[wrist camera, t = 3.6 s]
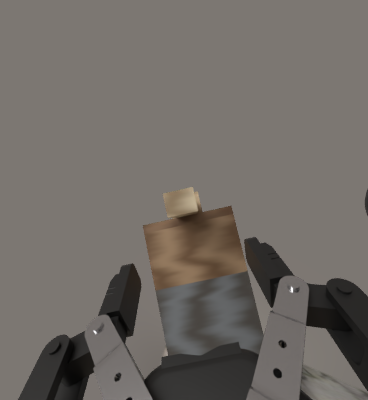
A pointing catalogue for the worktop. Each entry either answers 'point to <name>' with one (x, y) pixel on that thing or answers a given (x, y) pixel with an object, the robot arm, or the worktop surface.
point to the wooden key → (182, 203)
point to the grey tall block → (202, 283)
